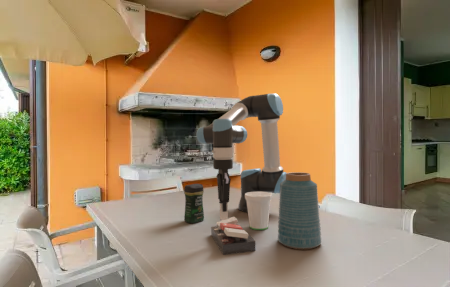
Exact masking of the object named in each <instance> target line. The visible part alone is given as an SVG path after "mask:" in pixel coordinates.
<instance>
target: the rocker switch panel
mask: <svg viewBox="0 0 450 287" xmlns="http://www.w3.org/2000/svg"><path fill="white" fill-rule="evenodd" d="M235 225H240V224H239V223H237V224H235ZM210 229H211V230H210V232H211V237H212V239H213V240H214V241H215V244H216V245H217V247H218V249H219V251H220V252H221V254H222V255H223V256H226V255H231V254H240V253H249V252H255V251H256V240H254V238H253V237H251V235H250V234H249V233H248V238H240V237H232V236H227V235H226V234H225V233H224V230H222V229H219V228H218V226H217V225H216V226H211V227H210ZM243 230H245V229H244V228H243Z"/></svg>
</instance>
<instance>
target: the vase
mask: <svg viewBox="0 0 450 287" xmlns="http://www.w3.org/2000/svg"><path fill="white" fill-rule="evenodd" d="M278 200H279V205H278V222H277V223H278V225H277V240H278V242H279V243H280V244H282V245H283V246H285V247H287V248H290V249H294V250H303V251H304V250H312V249H315V248H317V247H319V246H320V245H321V244H322V232H321V220H320V208H319V194H318V184H317V183H316V182H314V181H313V180H312V179H311V173H308V172H303V171H302V172H295V171H294V172H293V171H292V172H286V180H284V181H283V182H281V183H280V193H279V199H278Z"/></svg>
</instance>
